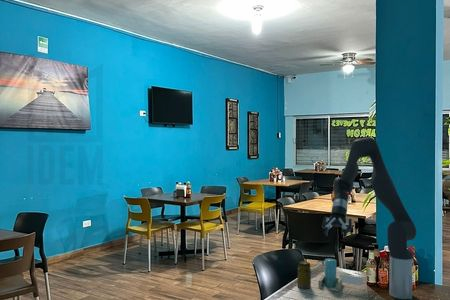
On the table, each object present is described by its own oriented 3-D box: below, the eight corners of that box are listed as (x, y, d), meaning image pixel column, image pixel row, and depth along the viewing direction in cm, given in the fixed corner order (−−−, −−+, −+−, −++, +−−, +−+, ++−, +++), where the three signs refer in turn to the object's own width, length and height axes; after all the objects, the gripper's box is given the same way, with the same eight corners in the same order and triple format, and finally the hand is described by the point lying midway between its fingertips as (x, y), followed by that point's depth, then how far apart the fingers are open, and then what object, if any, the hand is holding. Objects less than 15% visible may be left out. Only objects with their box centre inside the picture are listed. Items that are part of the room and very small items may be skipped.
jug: (337, 284, 188) (337, 259, 188) (334, 289, 182) (334, 263, 182) (325, 283, 191) (326, 258, 190) (322, 288, 184) (322, 262, 184)
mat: (363, 278, 199) (363, 277, 199) (360, 286, 189) (360, 284, 189) (340, 275, 203) (340, 274, 203) (336, 282, 193) (336, 281, 193)
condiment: (303, 284, 190) (303, 259, 190) (317, 289, 184) (318, 263, 184) (293, 288, 186) (293, 262, 185) (307, 293, 179) (307, 266, 179)
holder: (343, 285, 190) (343, 277, 190) (339, 292, 181) (339, 284, 180) (321, 282, 194) (321, 274, 194) (317, 288, 185) (317, 281, 185)
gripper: (324, 204, 208) (319, 230, 198) (353, 206, 202) (349, 233, 192) (326, 212, 213) (321, 238, 203) (354, 214, 207) (350, 242, 197)
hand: (335, 236), depth 197 cm, fingers open, 8 cm apart
